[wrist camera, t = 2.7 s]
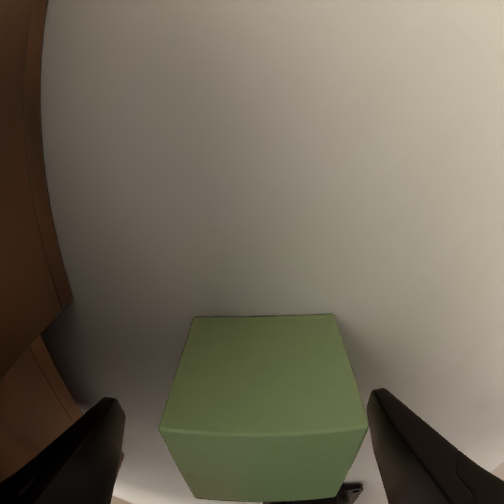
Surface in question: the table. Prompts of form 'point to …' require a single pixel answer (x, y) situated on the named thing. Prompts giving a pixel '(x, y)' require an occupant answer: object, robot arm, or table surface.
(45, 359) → the drawer
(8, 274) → the cabinet
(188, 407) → the block
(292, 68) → the table surface
